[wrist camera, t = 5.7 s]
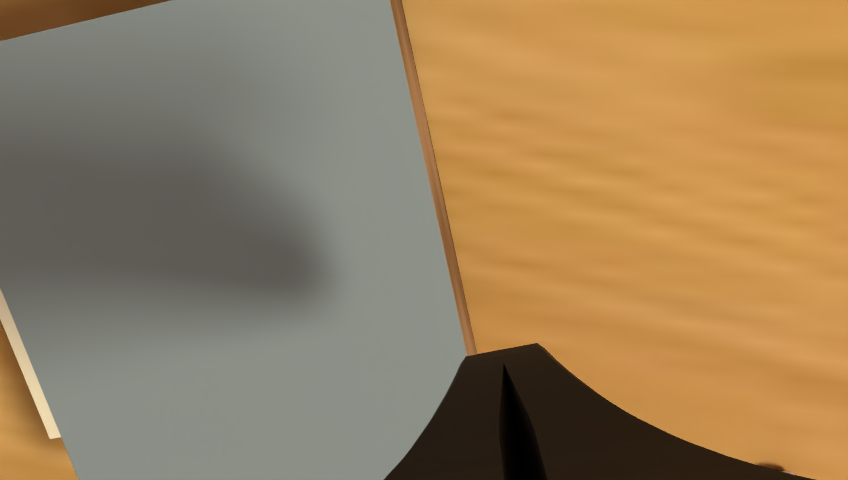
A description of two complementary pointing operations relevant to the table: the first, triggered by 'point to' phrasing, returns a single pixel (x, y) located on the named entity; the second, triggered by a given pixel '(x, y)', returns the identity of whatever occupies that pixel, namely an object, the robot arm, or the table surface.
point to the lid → (223, 242)
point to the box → (433, 173)
